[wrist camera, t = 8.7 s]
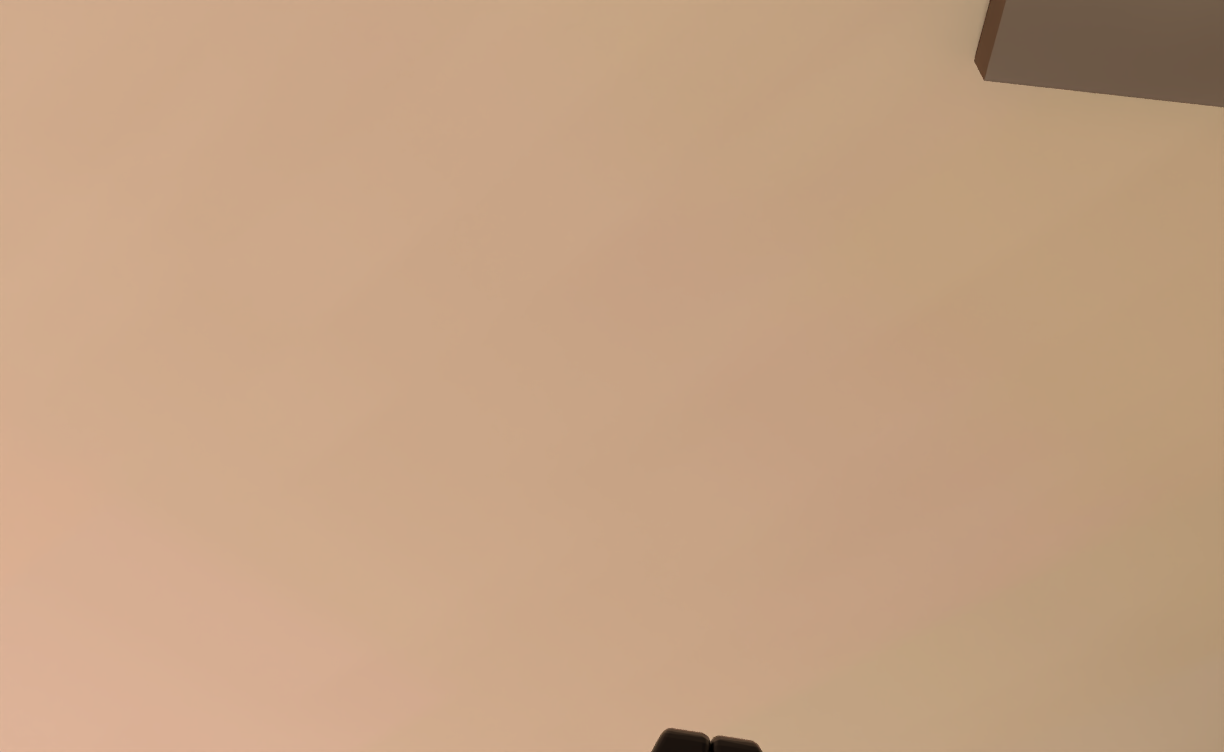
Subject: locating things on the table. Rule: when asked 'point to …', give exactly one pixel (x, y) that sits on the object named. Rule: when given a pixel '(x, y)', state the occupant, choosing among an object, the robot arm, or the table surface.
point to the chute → (1108, 47)
